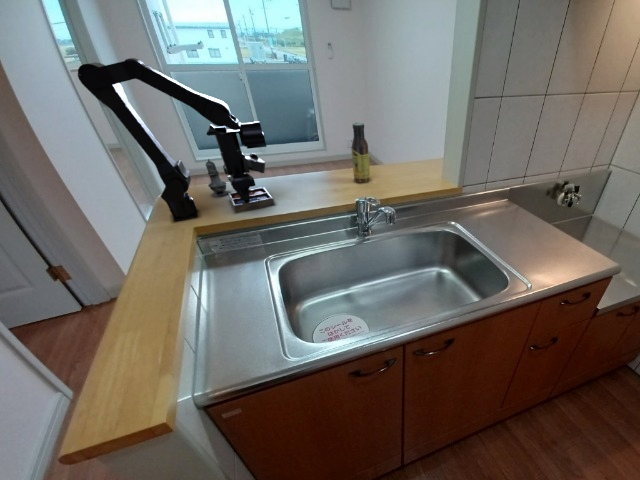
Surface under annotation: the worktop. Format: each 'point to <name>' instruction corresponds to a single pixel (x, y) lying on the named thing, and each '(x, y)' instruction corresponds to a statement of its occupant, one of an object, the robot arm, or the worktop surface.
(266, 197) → the blue flashlight
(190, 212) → the robot arm
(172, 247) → the worktop surface
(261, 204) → the tray
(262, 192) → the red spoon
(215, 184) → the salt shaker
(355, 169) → the sauce bottle
